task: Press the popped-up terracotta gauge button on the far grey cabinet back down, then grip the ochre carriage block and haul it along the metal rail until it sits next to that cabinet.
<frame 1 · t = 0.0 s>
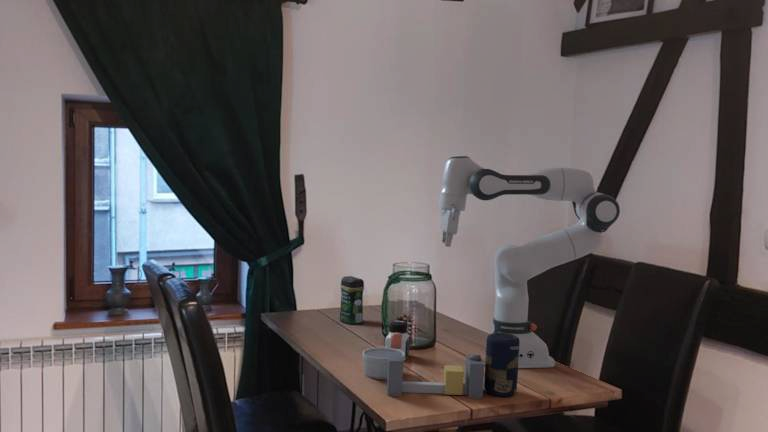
hand: (446, 244, 237), 39 cm above the table, tool pointing down, fingers open, 8 cm apart
gauge button: (396, 340, 204), point 15 cm above the table, slide at 2.5 cm
rail assembly: (433, 391, 205), on the table
canister: (500, 393, 207), on the table
coffee jar: (350, 322, 288), on the table
carriage: (453, 379, 205), point 4 cm above the table, slide at 0.0 cm
ramekin: (383, 375, 220), on the table
medicine bottle: (396, 357, 240), on the table
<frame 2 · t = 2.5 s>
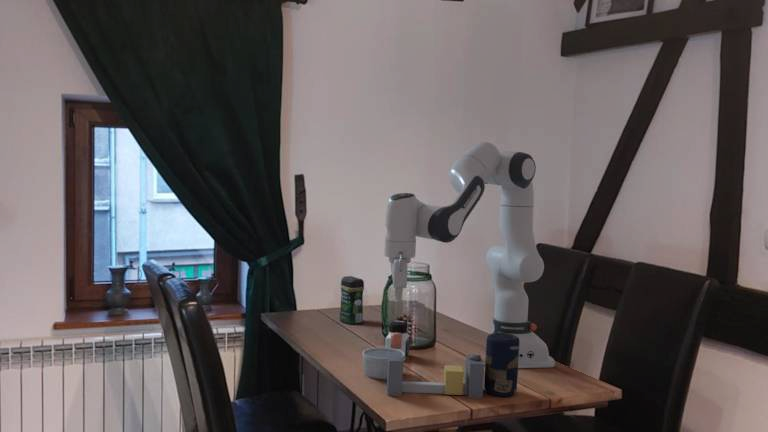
hand: (398, 298, 203), 27 cm above the table, tool pointing down, fingers open, 3 cm apart
nothing on the table moved.
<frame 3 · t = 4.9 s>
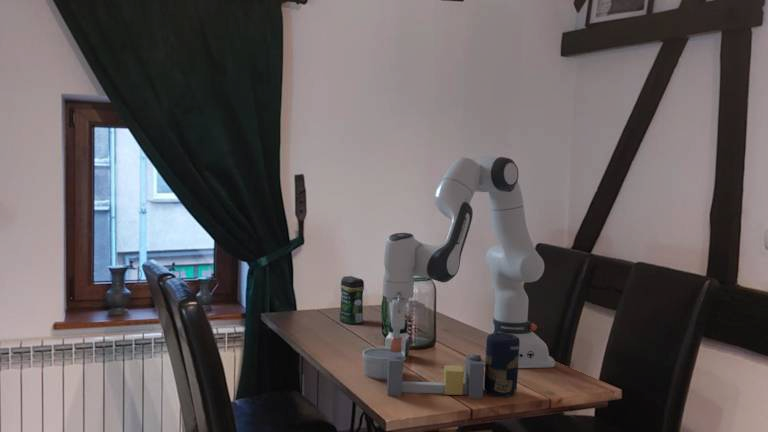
hand: (396, 337, 204), 16 cm above the table, tool pointing down, fingers closed, pressing on gauge button
gauge button: (396, 344, 204), point 14 cm above the table, slide at 1.4 cm, touching gripper
everything else where it was.
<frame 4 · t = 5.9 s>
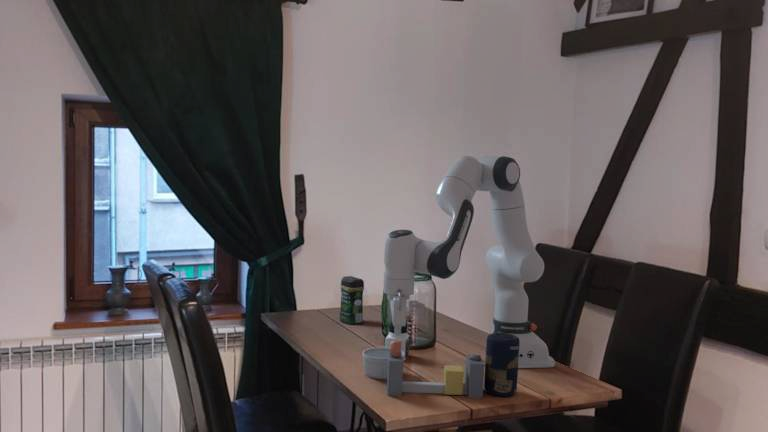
hand: (397, 334, 204), 17 cm above the table, tool pointing down, fingers closed
gauge button: (395, 348, 204), point 12 cm above the table, slide at 0.2 cm
everything else where it was.
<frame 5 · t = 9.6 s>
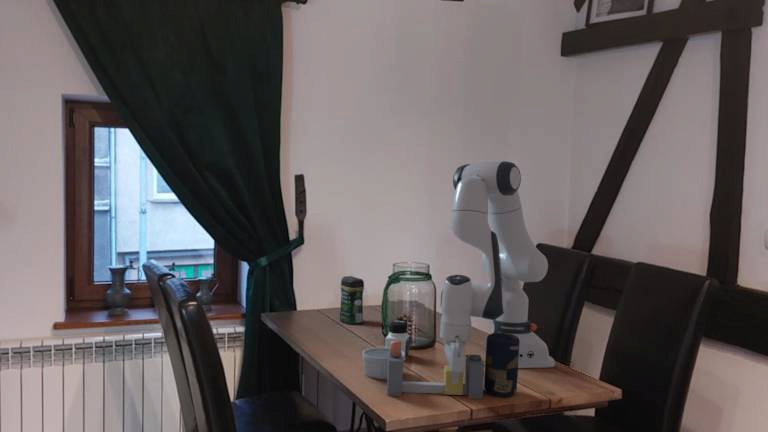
hand: (453, 379, 205), 4 cm above the table, tool pointing down, fingers closed on carriage, 6 cm apart
carriage: (453, 379, 205), point 4 cm above the table, slide at 0.0 cm, touching gripper
everything else where it was.
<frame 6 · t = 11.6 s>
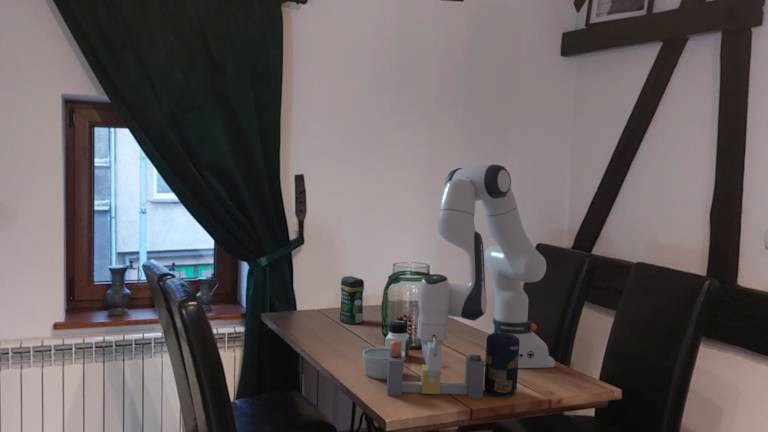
hand: (430, 378, 205), 4 cm above the table, tool pointing down, fingers closed on carriage, 6 cm apart
carriage: (430, 379, 205), point 4 cm above the table, slide at 6.6 cm, touching gripper
everything else where it was.
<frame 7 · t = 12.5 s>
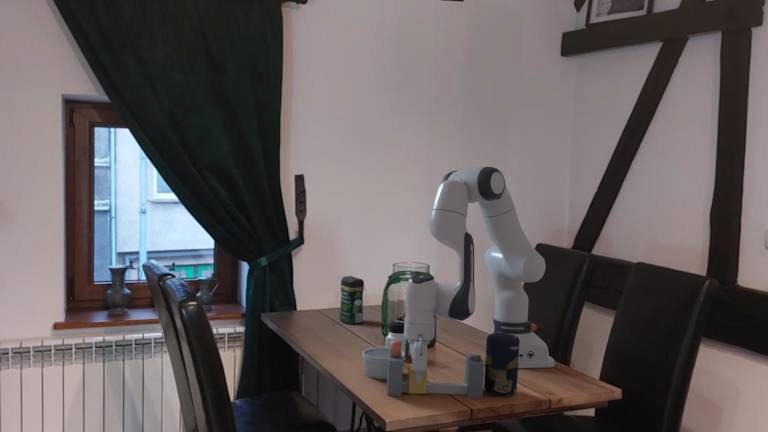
hand: (417, 377, 205), 4 cm above the table, tool pointing down, fingers closed on carriage, 5 cm apart
carriage: (417, 378, 205), point 4 cm above the table, slide at 10.4 cm, touching gripper
everything else where it was.
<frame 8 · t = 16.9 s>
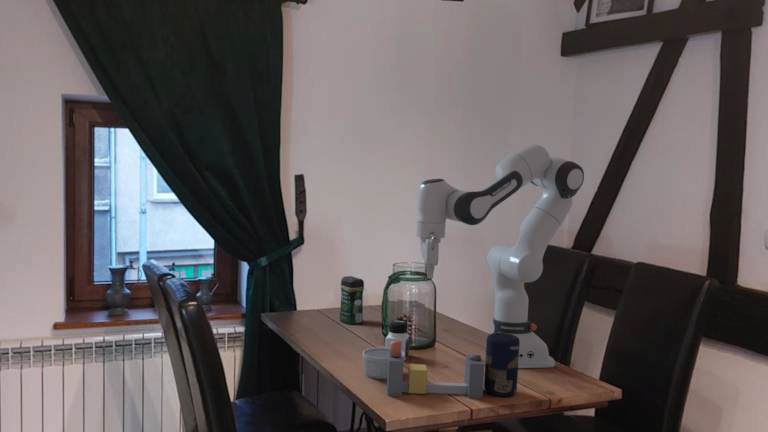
hand: (428, 275, 220), 31 cm above the table, tool pointing down, fingers open, 8 cm apart
carriage: (417, 378, 205), point 4 cm above the table, slide at 10.4 cm
everything else where it was.
at the end: gauge button slide at 0.2 cm; carriage slide at 10.4 cm; the gripper is holding nothing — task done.
